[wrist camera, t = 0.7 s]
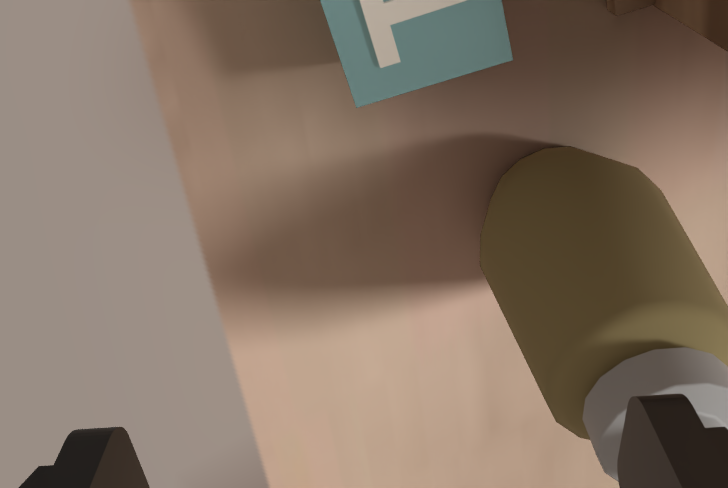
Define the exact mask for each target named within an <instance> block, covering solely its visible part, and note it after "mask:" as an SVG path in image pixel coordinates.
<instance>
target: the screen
mask: <svg viewBox="0 0 728 488" xmlns="http://www.w3.org/2000/svg"><path fill="white" fill-rule="evenodd" d="M650 5H654V6H655V7H657V8H659V9H660V10H662V11H663V12H665V13H667V14H668V15H670V16H672V17H673V18H675V19H676V20H678V21H680V22H681V23H683V24H684V25H686V26H688V27H689V28H691V29H692V30H694V31H696V32H697V33H699V34H700V35H702V36H704V37H705V38H707V39H709V40H710V41H712V42H713V43H715V44H717V45H718V46H720V47H721V48H723V49H725V50H726V51H728V0H607V10H608V11H610V12H611V13H612V14H614V15H615V16H618V15H621V14H625V13H628V12H631V11H634V10H637V9H641V8H644V7H647V6H650Z"/></svg>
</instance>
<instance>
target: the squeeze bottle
mask: <svg viewBox="0 0 728 488" xmlns="http://www.w3.org/2000/svg"><path fill="white" fill-rule="evenodd" d="M480 267H481V269H482V271H483V273H484V275H485V277H486V279H487V281H488V283H489V285H490V287H491V289H492V291H493V294H494V296H495V298H496V300H497V302H498V304H499V306H500V308H501V310H502V312H503V314H504V316H505V318H506V320H507V322H508V324H509V327H510V329H511V331H512V333H513V335H514V337H515V339H516V341H517V343H518V345H519V347H520V349H521V351H522V353H523V355H524V358H525V360H526V362H527V364H528V366H529V368H530V370H531V372H532V374H533V376H534V378H535V380H536V382H537V384H538V386H539V388H540V391H541V393H542V395H543V397H544V399H545V401H546V403H547V405H548V407H549V409H550V411H551V412H552V414H553V416H554V418H555V420H556V422H557V423H559V424H560V425H562V426H563V427H565V428H566V429H568V430H569V431H571V432H572V433H574V434H575V435H577V436H578V437H580V438H584V439H588V440H591V443H592V445H593V448H594V450H595V453H596V455H597V457H598V460H599V462H600V464H601V466H602V468H603V470H604V472H605V473H606V474H608V475H609V476H611V477H612V478H614V479H615V480H617V481H618V472H617V460H618V454H619V449H620V443H621V438H622V432H623V427H624V422H625V416H626V411H627V405H628V402H629V399H630V398H631V397H633V396H647V395H663V394H683V395H685V396H686V397H687V398H688V399H689V401H690V402H691V404H692V405H693V407H694V409H695V411H696V413H697V414H698V416H699V418H700V420H701V421H702V423H703V425H704V427H705V428H710V427H726V428H727V429H728V306H727V304H726V302H725V301H724V299H723V297H722V295H721V294H720V292H719V290H718V288H717V287H716V285H715V283H714V281H713V280H712V278H711V276H710V274H709V273H708V271H707V269H706V267H705V266H704V264H703V262H702V260H701V259H700V257H699V255H698V254H697V252H696V250H695V248H694V247H693V245H692V243H691V241H690V240H689V238H688V236H687V234H686V233H685V231H684V229H683V227H682V226H681V224H680V222H679V220H678V219H677V217H676V215H675V213H674V212H673V210H672V208H671V206H670V205H669V203H668V201H667V200H666V198H665V196H664V194H663V193H662V191H661V190H660V189H659V188H658V187H657V186H656V185H655V184H654V183H653V182H652V181H651V180H650V179H649V178H648V177H647V176H645V175H644V174H643V173H642V172H641V171H640V170H639V169H638V168H636V167H633V166H630V165H627V164H624V163H621V162H618V161H615V160H612V159H608V158H605V157H602V156H599V155H596V154H593V153H590V152H587V151H584V150H580V149H577V148H574V147H571V146H569V147H557V148H544V149H542V150H540V151H538V152H535V153H533V154H531V155H529V156H526V157H524V158H522V159H520V160H519V161H518V162H517V163H516V164H515V165H514V166H512V167H511V168H510V169H509V170H508V171H507V172H506V173H505V174H504V175H503V176H502V177H501V179H500V181H499V183H498V185H497V187H496V189H495V191H494V193H493V195H492V197H491V200H490V204H489V207H488V211H487V214H486V218H485V221H484V224H483V228H482V231H481V235H480ZM618 482H619V481H618Z"/></svg>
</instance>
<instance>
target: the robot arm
mask: <svg viewBox="0 0 728 488" xmlns="http://www.w3.org/2000/svg"><path fill="white" fill-rule="evenodd" d="M617 472H618V481H619V486H620V488H728V429H727V428H726V427H710V428H705V427H704V425H703V423H702V421H701V420H700V418H699V416H698V414H697V413H696V411H695V409H694V407H693V405H692V404H691V402H690V401H689V399H688V398H687V397H686V396H685V395H683V394H663V395H647V396H633V397H631V398H630V399H629V402H628V405H627V411H626V416H625V422H624V427H623V432H622V438H621V443H620V449H619V454H618V460H617ZM19 488H149V485H148V482H147V480H146V477H145V475H144V472H143V470H142V467H141V465H140V462H139V460H138V458H137V455H136V452H135V450H134V447H133V445H132V443H131V440H130V438H129V435H128V433H127V431H126V430H125V429H124V428H123V427H111V428H94V429H80V430H79V429H78V430H74V431H72V432H71V433H70V434H69V435H68V437H67V438H66V440H65V442H64V444H63V446H62V449H61V451H60V453H59V455H58V457H57V459H56V461H55V463H54V465H52V466H39V467H38V468H37V469H36V470H35V471H34V472H33V473H32V474H31V475H30V476H29V477H28V478H27V479H26V480H25V482H24V483H23V484H22V485H21V486H20V487H19Z"/></svg>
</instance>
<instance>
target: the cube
mask: <svg viewBox="0 0 728 488" xmlns="http://www.w3.org/2000/svg"><path fill="white" fill-rule="evenodd" d="M320 1H321V4H322V7H323V10H324V13H325V16H326V19H327V22H328V25H329V28H330V31H331V34H332V37H333V40H334V43H335V46H336V49H337V52H338V55H339V58H340V61H341V64H342V67H343V70H344V73H345V76H346V78H347V81H348V84H349V87H350V90H351V93H352V96H353V99H354V102H355V105H356V108H358V107H361V106H365V105H368V104H371V103H374V102H378V101H381V100H384V99H387V98H391V97H394V96H397V95H400V94H404V93H407V92H410V91H414V90H417V89H420V88H423V87H427V86H430V85H433V84H436V83H440V82H443V81H446V80H450V79H453V78H456V77H459V76H463V75H466V74H469V73H472V72H476V71H479V70H482V69H485V68H489V67H492V66H495V65H499V64H502V63H505V62H508V61H512V60H513V57H512V51H511V46H510V41H509V36H508V31H507V26H506V20H505V15H504V10H503V5H502V0H320Z"/></svg>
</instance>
